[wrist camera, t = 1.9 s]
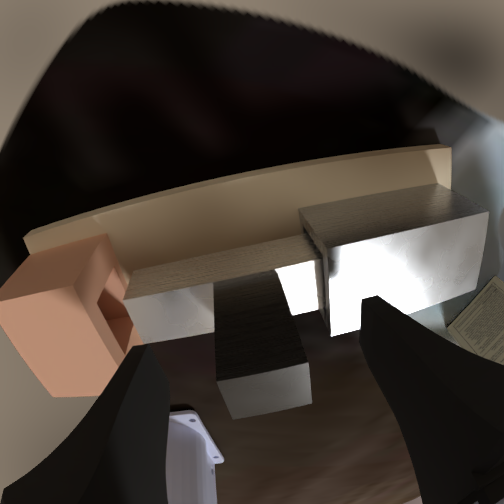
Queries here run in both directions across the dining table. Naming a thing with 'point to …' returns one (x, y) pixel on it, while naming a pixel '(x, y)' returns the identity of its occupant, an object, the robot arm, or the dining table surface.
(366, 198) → the grey sleeve
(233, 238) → the birch board
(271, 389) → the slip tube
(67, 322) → the socket block
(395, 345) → the robot arm
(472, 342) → the skincare box
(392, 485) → the dining table surface
